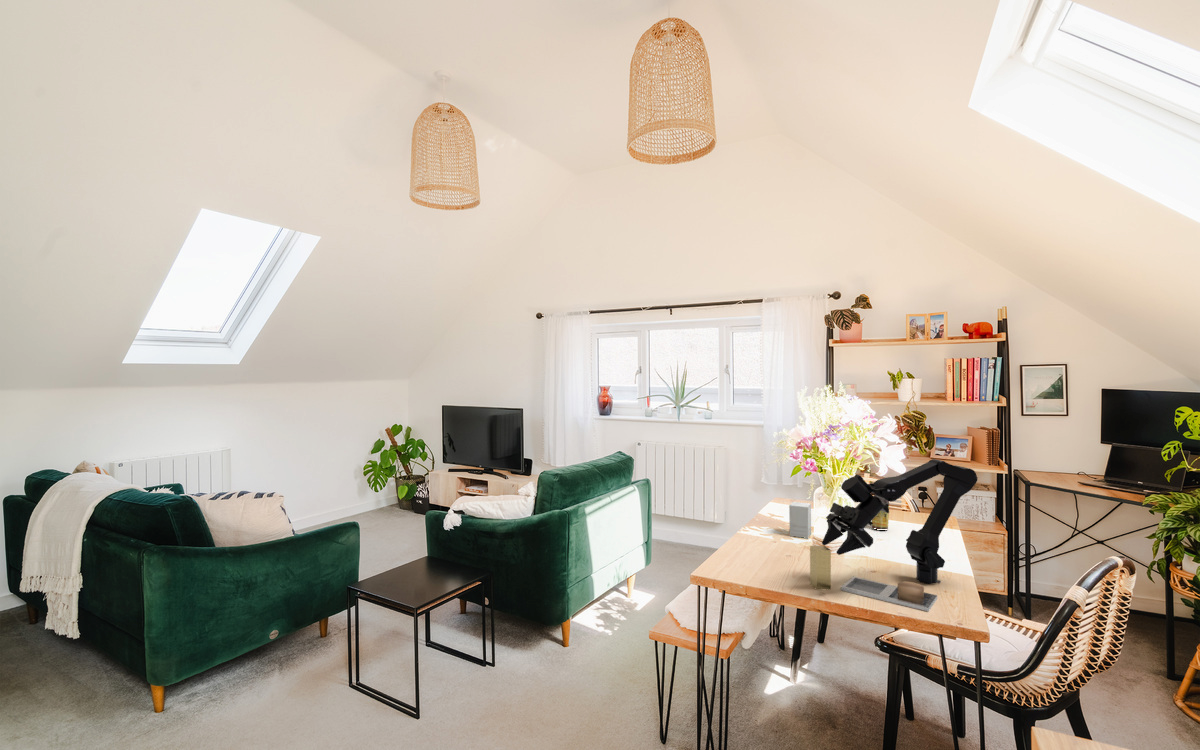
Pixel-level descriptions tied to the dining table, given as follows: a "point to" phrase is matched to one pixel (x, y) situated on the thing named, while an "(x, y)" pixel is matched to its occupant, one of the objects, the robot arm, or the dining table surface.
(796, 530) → the supplement box
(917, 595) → the walnut puck
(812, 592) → the dining table surface
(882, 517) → the sauce bottle
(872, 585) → the tray
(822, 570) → the block
